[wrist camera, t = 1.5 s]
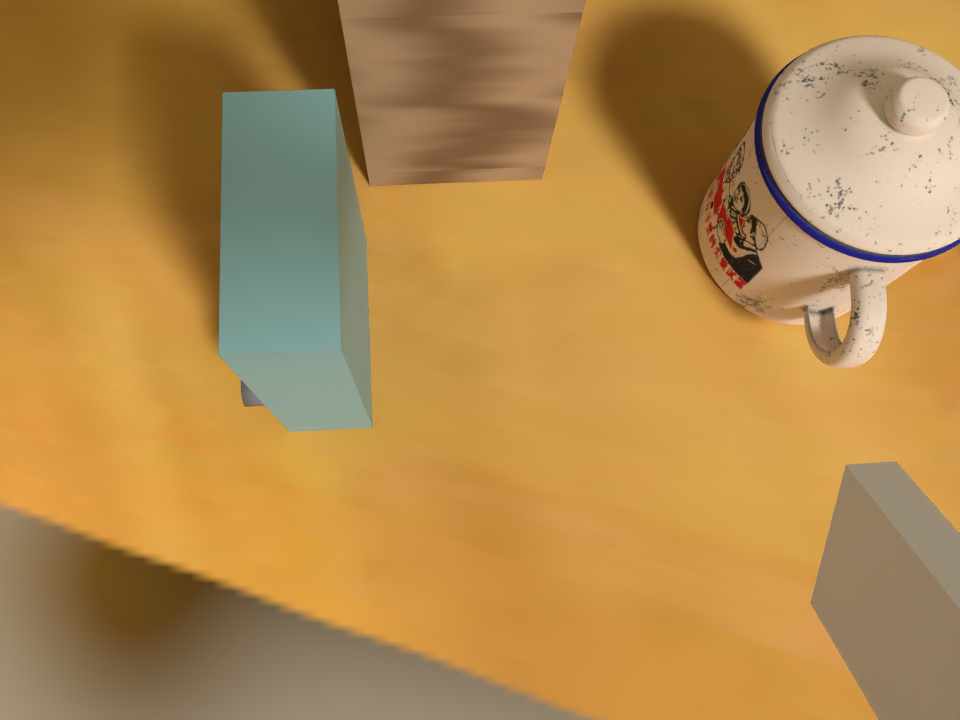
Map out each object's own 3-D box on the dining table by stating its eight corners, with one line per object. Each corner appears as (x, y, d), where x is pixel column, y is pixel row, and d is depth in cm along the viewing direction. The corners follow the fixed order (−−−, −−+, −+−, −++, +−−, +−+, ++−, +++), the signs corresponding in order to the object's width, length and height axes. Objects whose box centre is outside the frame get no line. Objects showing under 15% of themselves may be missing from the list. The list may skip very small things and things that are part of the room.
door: (366, 240, 38) (334, 89, 27) (372, 427, 36) (341, 348, 25) (265, 245, 38) (190, 93, 27) (265, 433, 36) (183, 357, 24)
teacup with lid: (687, 145, 40) (781, -27, 29) (875, 156, 41) (1040, -10, 29) (694, 390, 37) (803, 303, 26) (897, 400, 37) (1092, 318, 26)
